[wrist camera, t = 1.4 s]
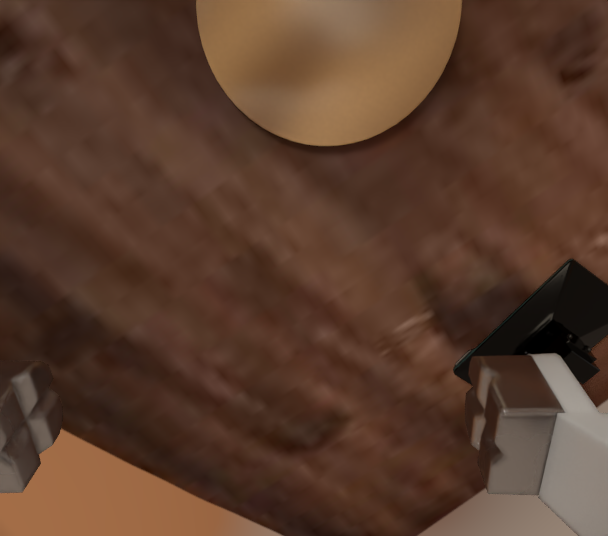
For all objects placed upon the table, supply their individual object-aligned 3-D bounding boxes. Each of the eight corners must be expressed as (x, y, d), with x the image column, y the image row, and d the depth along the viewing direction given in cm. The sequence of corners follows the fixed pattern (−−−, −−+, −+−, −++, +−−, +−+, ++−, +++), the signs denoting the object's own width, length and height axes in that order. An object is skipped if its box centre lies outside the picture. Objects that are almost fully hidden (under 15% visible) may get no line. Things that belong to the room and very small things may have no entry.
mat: (163, 81, 31) (161, 82, 31) (257, -214, 25) (256, -218, 25) (380, 181, 34) (381, 184, 34) (513, -62, 28) (517, -63, 27)
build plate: (514, 408, 43) (534, 451, 39) (448, 368, 41) (463, 408, 37) (636, 306, 38) (674, 343, 34) (568, 255, 36) (600, 288, 32)
